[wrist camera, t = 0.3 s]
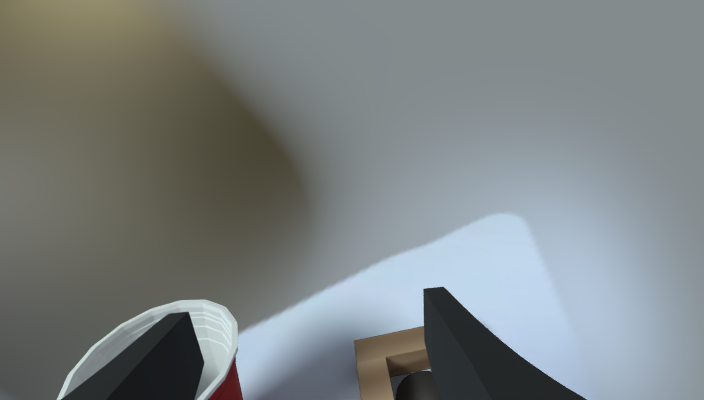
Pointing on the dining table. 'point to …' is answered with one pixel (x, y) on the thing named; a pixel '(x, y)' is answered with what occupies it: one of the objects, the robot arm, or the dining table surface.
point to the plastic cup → (212, 334)
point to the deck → (395, 366)
